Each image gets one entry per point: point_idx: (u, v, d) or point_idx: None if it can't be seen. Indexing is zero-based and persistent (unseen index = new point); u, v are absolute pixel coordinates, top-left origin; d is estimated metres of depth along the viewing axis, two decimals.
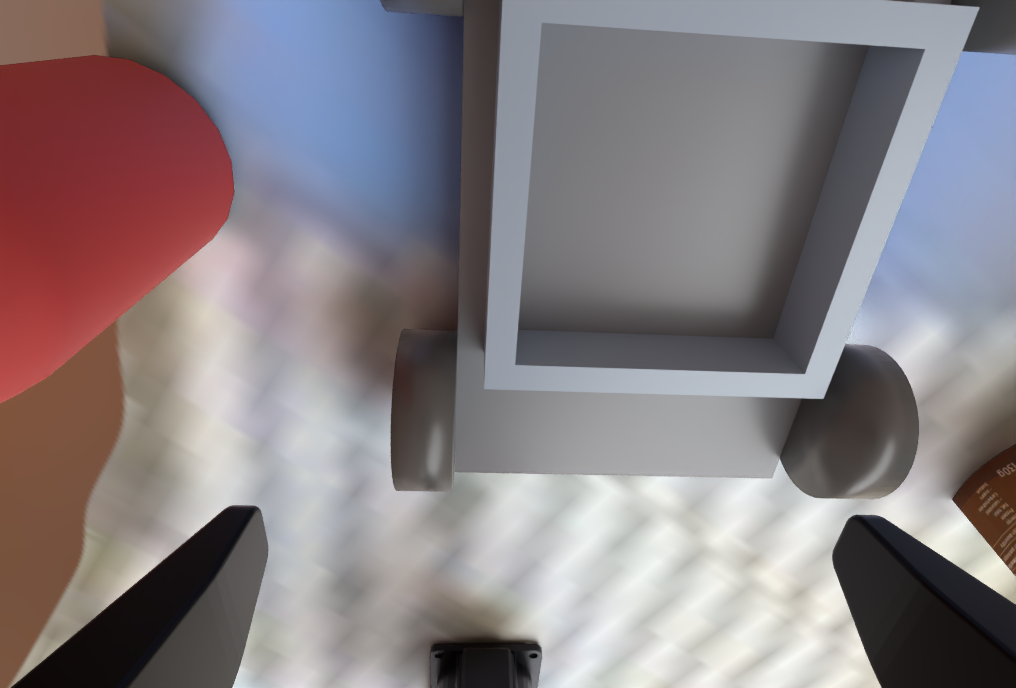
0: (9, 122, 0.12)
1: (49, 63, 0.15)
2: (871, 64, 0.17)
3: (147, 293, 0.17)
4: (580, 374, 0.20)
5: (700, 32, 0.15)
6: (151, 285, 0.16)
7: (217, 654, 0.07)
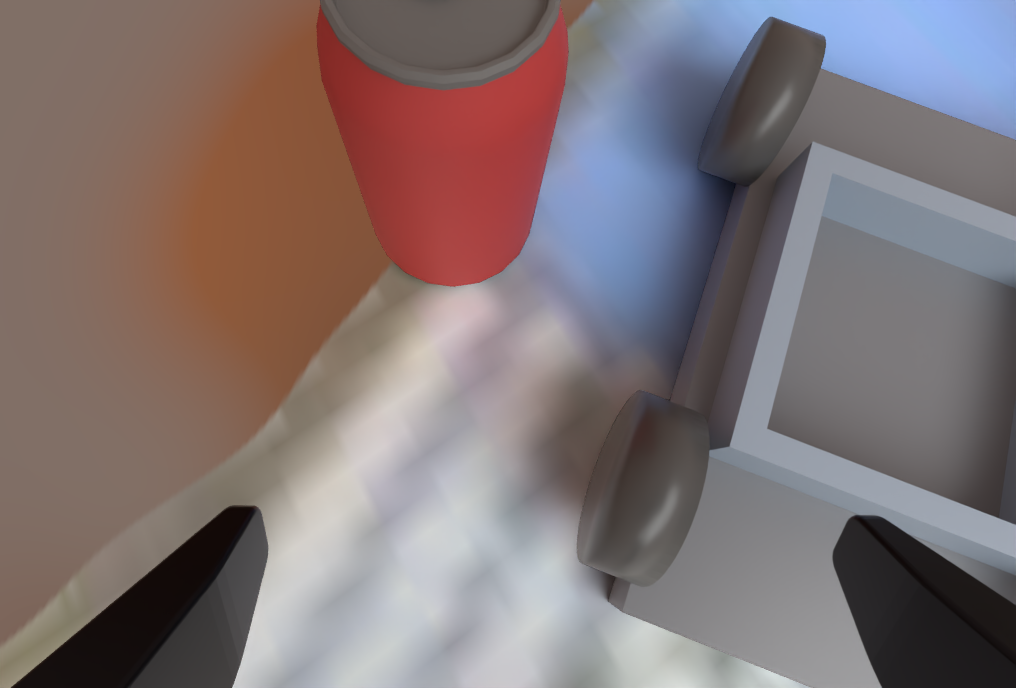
0: None
1: None
2: None
3: (483, 230, 0.19)
4: (831, 462, 0.19)
5: (937, 212, 0.21)
6: (495, 222, 0.19)
7: (217, 654, 0.07)
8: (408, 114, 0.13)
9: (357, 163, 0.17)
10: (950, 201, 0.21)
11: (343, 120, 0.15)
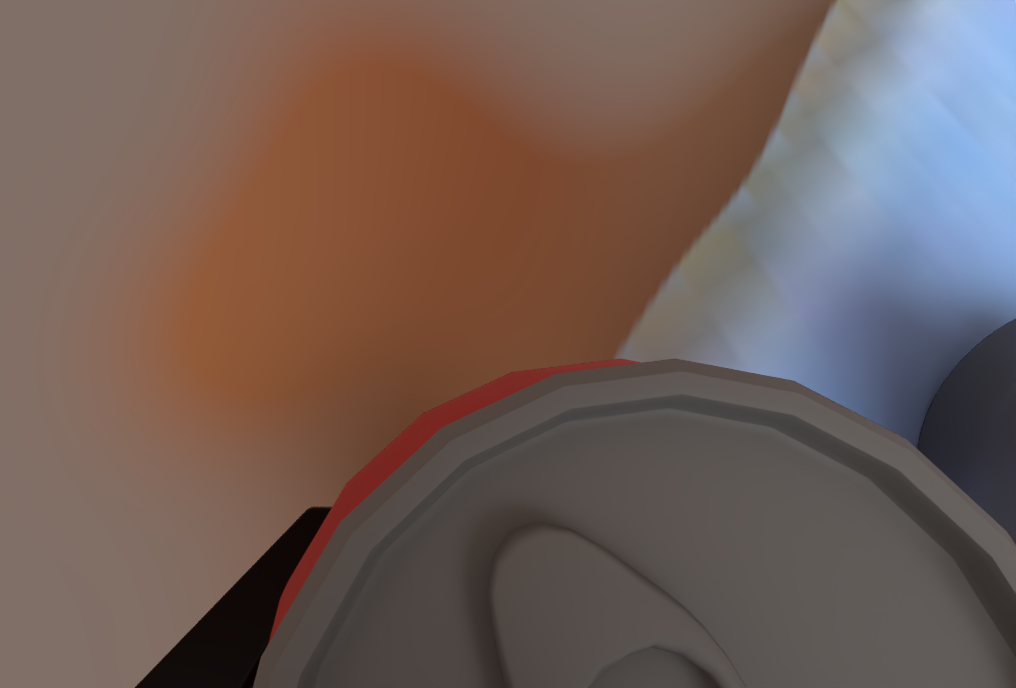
0: None
1: None
2: None
3: None
4: None
5: None
6: None
7: None
8: None
9: None
10: None
11: None
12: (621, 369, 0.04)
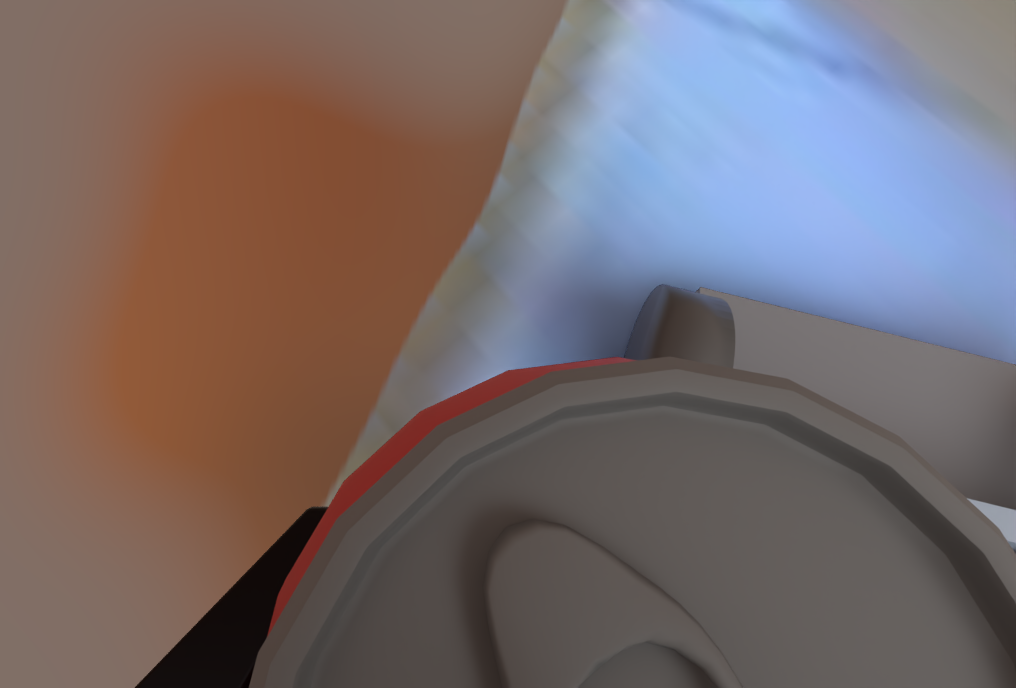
0: None
1: None
2: None
3: None
4: None
5: None
6: None
7: None
8: None
9: None
10: None
11: None
12: (616, 367, 0.04)
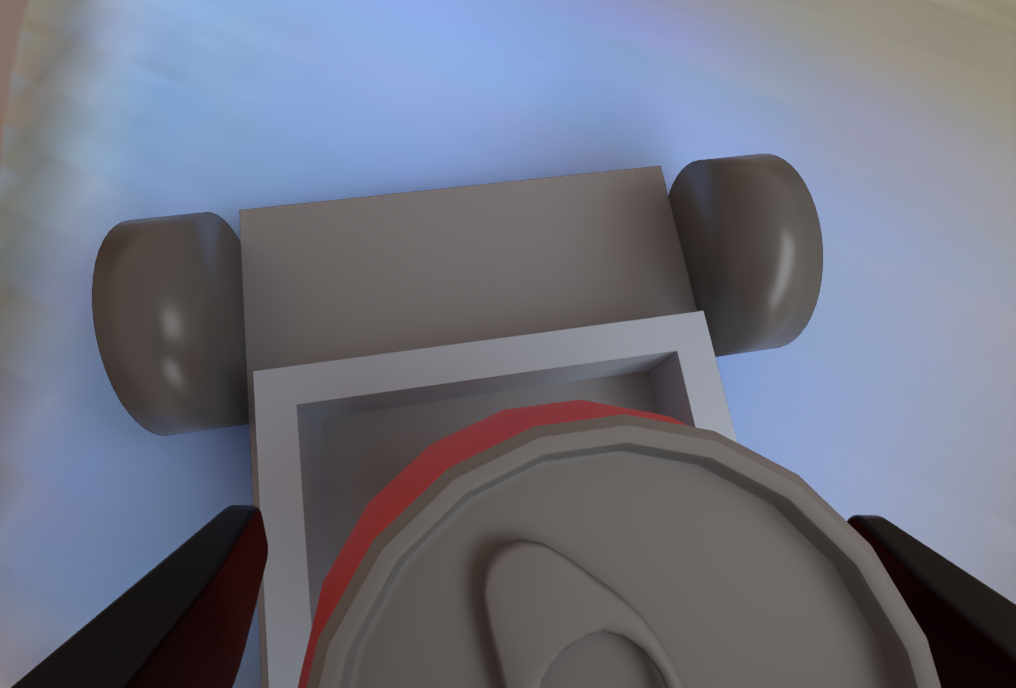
0: None
1: None
2: (656, 383, 0.17)
3: None
4: None
5: (456, 381, 0.15)
6: None
7: (217, 654, 0.07)
8: None
9: None
10: (468, 356, 0.15)
11: None
12: (583, 423, 0.05)
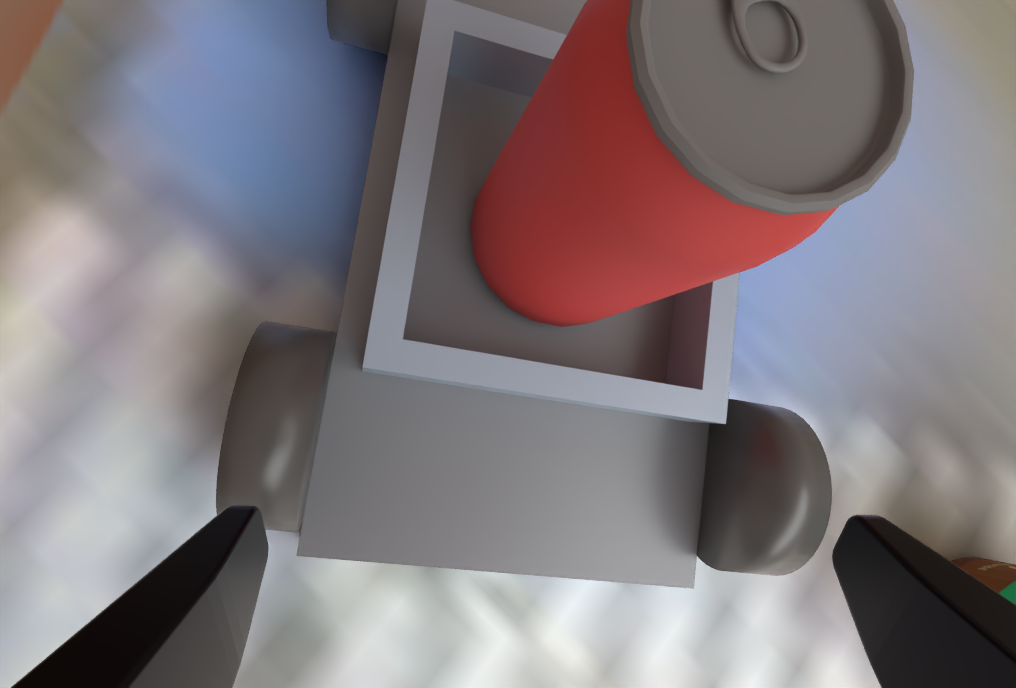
0: None
1: None
2: None
3: (620, 305, 0.16)
4: (475, 360, 0.18)
5: None
6: (637, 302, 0.16)
7: (217, 654, 0.07)
8: (666, 202, 0.10)
9: (531, 189, 0.13)
10: None
11: (560, 153, 0.11)
12: None
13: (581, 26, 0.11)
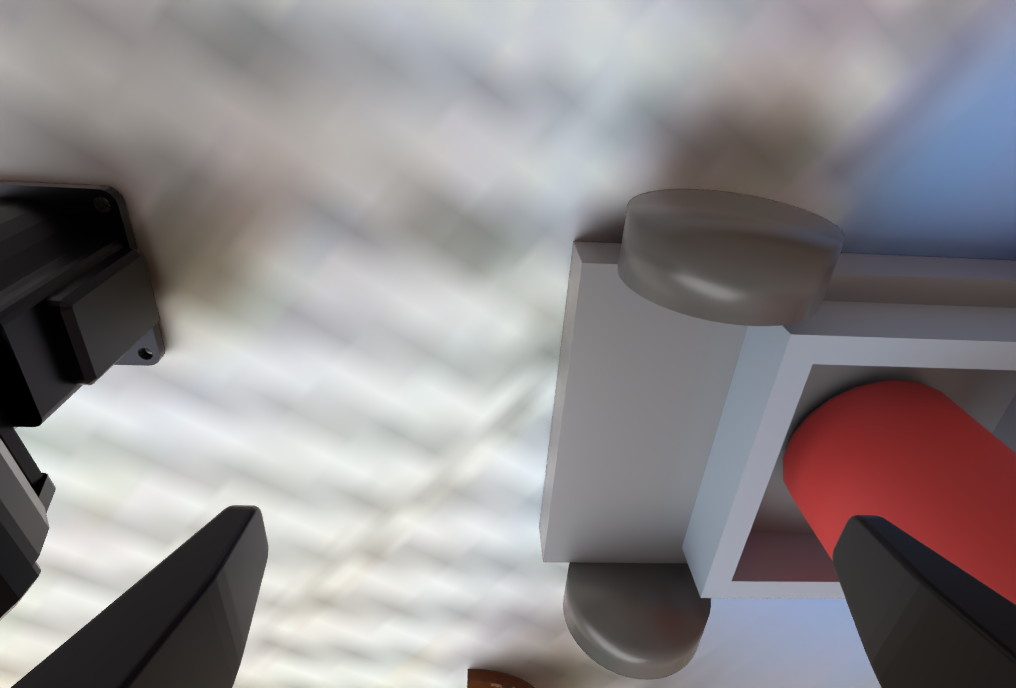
0: None
1: None
2: None
3: None
4: (783, 422, 0.19)
5: None
6: None
7: (217, 654, 0.07)
8: None
9: (1010, 539, 0.15)
10: None
11: None
12: None
13: None
